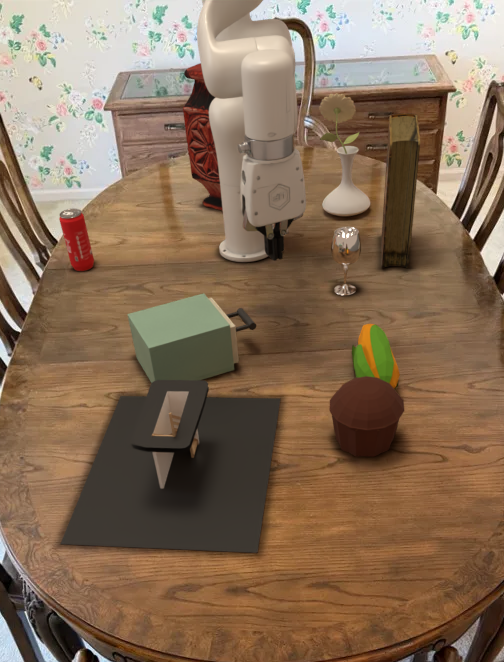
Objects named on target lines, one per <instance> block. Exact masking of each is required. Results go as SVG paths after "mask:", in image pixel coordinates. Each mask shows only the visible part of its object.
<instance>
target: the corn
mask: <svg viewBox="0 0 504 662" xmlns="http://www.w3.org/2000/svg"><path fill="white" fill-rule="evenodd" d="M390 344H391V343H390V341H389V338H388V337H387V335H386V332H385V331H384V330H383V329H382V328H381V327H380V326H379V325H377V324H375V323H365V324H363V325H362V327H361V330H360V332H359V336H358V339H357V345H356V346H355V345H354V344H352V346H351V359H352V365H353V370H354V374H355V378H358V377H365V376H369V377H376V378H379V379H381V380H384V381H386V382H388V383H389V384H390V385H391V386H392V387H393V388H394V389H395V391H396V390H397V388H398V387H399V380H400V376H401V374H400V369H399V366H398V364H397V360H396V358H395V355H394V351H393V349H392V347H391V345H390Z"/></svg>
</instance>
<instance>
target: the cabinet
mask: <svg viewBox="0 0 504 662" xmlns="http://www.w3.org/2000/svg"><path fill="white" fill-rule="evenodd" d="M127 320H128V324H129V329H130V334H131V338H132V343H133V347H134V353H135V358H136V360H137V361H138V363H139V364H140V366H141V368H142V369H143V372H144V373H145V375H146V376H147V378H148V380H149V381H150V384H151V383H152V382H154V381H156V380H203V381H204V380H206V379H209V378H212V377H215V376H220V375H222V374H226V373H229V372H232V371H235V363H234V360H233V350H232V340H231V330H230V324H229V323H228V322H227V321H226V320H225V318H224V317H223V316H222V315H221V313H220V312H219V311H218V310H217V309H216V307H215V306H214V305H213V304H212V302H211V301H210V300H209V299H208V297H207V295H206V293H204V292H203V293H199V294H195V295H192V296H189V297H185V298H181V299H177V300H174V301H170V302H167V303H164V304H163V303H162V304H159V305H156V306H152V307H147V308H144V309H141V310H138V311H133V312H130V313H127Z"/></svg>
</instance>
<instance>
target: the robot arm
mask: <svg viewBox="0 0 504 662" xmlns="http://www.w3.org/2000/svg"><path fill="white" fill-rule="evenodd" d="M263 1H264V0H201V2H202V7H201V10H200V12H199V16H198V21H197V26H196V27H197V28H196V42H197V48H198V54H199V60H200V63H201V67H202V72H203V77H204V81H205V84H206V87H207V89H208V91H209V92H210V94H211V95H212V96H214V97H216V98H215V99H214V100H213V101H212V102H211V104H210V107H209V121H210V126H211V130H212V135H213V139H214V143H215V148H216V154H217V160H218V169H219V179H220V188H221V198H222V208H223V211H222V220H223V229H224V238H225V239H223V240H222V241H221V242H220V244H219V247H218V251H219V254H220V256H221V257H222V258H224V259H226V260H228V261H231V262H237V263H250V262H256V261H257V262H258V261H261V260H263V259H266V258H268V257H269V258H270V259H271V260H272V261H273V262H275V261H278V260H282V259H284V256H283V254H284V253H283V252H285V236H286V235H288V234H289V228H290V226H291V225H292V223H293V222H296V221H297V220H299V219H300V218H302V217H303V216H304V214H305V212H306V209H307V195H306V194H307V193H306V182H305V176H304V168H303V167H304V166H303V161H302V157H301V153H300V150H299V149H298V148H295V134H296V133H297V129H298V121H299V114H298V111H299V110H298V100H297V99H298V98H297V85H296V53H295V50H294V49H295V48H294V47H293V42H292V41H293V39H292V36H291V32H290V30H289V27H288V26H287V24H286V23H285V22H284V21H283V20H281V19H277V18H267V19H266V18H265V19H257V20H253V19H252V18H251V13H252V12H253V11H254V10H255V9H257V8H258V7H259V6H260V5H261V4H262V3H263Z"/></svg>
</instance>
